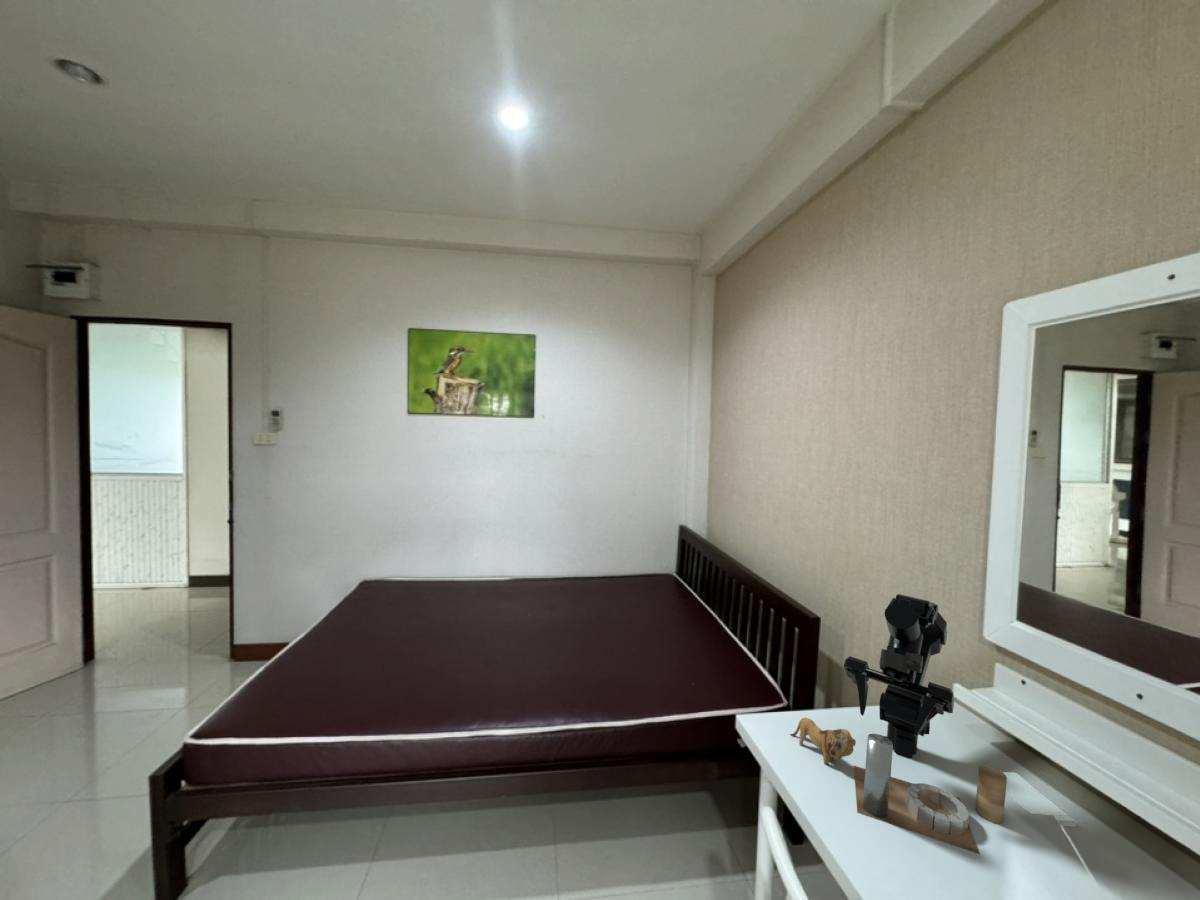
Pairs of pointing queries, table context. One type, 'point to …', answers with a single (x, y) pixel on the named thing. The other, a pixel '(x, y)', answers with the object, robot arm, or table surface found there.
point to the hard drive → (1034, 799)
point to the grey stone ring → (934, 820)
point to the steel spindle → (877, 775)
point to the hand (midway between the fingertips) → (887, 724)
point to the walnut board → (904, 818)
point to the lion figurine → (826, 740)
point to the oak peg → (991, 794)
